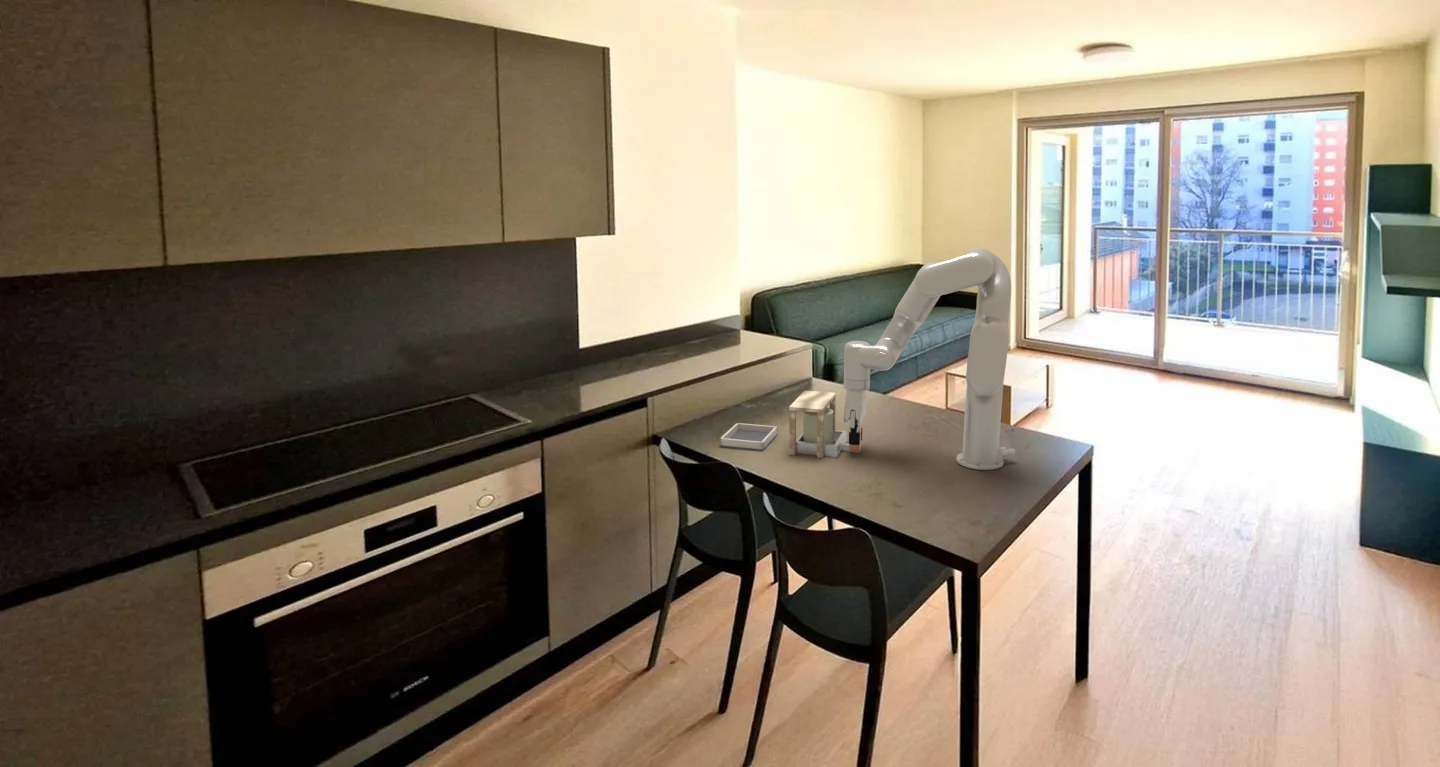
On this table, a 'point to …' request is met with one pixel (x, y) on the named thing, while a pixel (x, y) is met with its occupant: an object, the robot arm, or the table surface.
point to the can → (811, 426)
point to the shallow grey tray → (829, 449)
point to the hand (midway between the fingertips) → (855, 442)
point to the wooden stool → (811, 403)
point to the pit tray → (749, 436)
